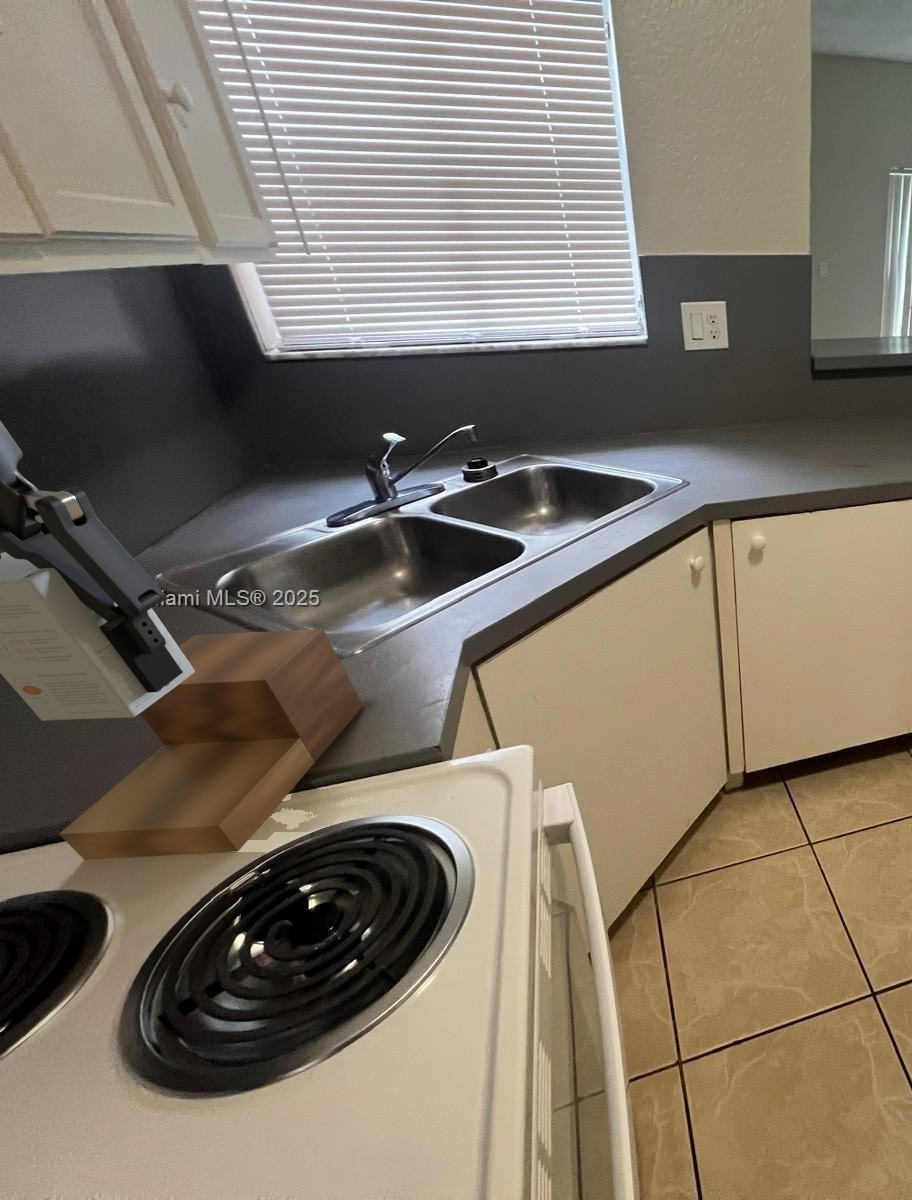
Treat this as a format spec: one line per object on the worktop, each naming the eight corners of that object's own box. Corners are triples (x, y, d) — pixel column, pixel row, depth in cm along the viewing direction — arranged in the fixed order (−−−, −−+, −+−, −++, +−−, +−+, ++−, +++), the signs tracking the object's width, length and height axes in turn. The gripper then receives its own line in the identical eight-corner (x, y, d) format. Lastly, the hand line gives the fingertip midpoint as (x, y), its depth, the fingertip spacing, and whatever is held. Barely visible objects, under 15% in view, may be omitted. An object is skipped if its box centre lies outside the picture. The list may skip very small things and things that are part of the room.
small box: (198, 672, 57) (110, 542, 50) (134, 719, 51) (26, 581, 45) (112, 675, 57) (13, 546, 50) (39, 722, 52) (-83, 585, 45)
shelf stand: (83, 859, 57) (-2, 773, 51) (245, 712, 74) (194, 634, 68) (238, 851, 57) (170, 764, 51) (363, 706, 74) (323, 628, 68)
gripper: (115, 396, 45) (267, 652, 57) (-177, 411, 45) (35, 664, 57) (4, 425, 39) (202, 707, 50) (-337, 442, 39) (-60, 721, 50)
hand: (113, 684), depth 53 cm, fingers closed on small box, 8 cm apart
